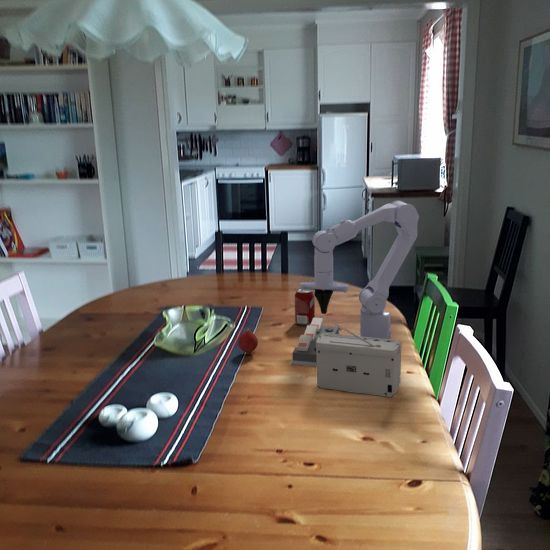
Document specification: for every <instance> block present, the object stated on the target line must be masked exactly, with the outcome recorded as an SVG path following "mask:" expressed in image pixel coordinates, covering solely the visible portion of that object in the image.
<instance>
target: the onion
mask: <svg viewBox="0 0 550 550" xmlns="http://www.w3.org/2000/svg"><path fill="white" fill-rule="evenodd" d="M237 344H238V348H239V349H240V350H241V351H242V352H244V353H245V354H247V355H251V354H252V353H253V352H254V351H255V350H256V349H257V348H258V347H257V346H258V345H259V340H258V338H257V336H256V335H255V334H254V333H253V332H252V331H251V330H250V328H247V329H246V330H245V331H243V332H242V333H241V335H240V336H239V338H238V341H237Z"/></svg>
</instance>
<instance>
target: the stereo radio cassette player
mask: <svg viewBox="0 0 550 550" xmlns="http://www.w3.org/2000/svg"><path fill="white" fill-rule="evenodd" d="M320 318H323V319H326V320H327V321H328V322H331V323H332V324H334V325H335V326H336V327H339V329H342V330H344V331H345V332H347V333H348V334H350V335H348V334H341V333H340V334H330V333H322V334H321V335H320V336H319V337H318V339H317V341H316V356H317V367H316V384H317V385H318V386H319V387H318V388H320V389H329V390H336V391H341V392H342V391H344V392H348V393H349V392H352V393H358V394H366V395H372V396H373V395H374V396H381V397H387V398H392V397H393V396H394V395H395V394H396V393H397V391H398V389H399V387H400V384H401V372H402V371H401V370H402V341H401V340H399V339H390V338H389V339H381V338H371V337H361V336H359V335H358V334H355V333H354V332H352V331H350V330H348V329H347V328H345V327H343V326H342V325H340V324H338V323H336V322H334V321H332V320H330V319H329V318H326V317H325V316H324V314H321V315H320Z"/></svg>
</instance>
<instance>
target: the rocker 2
mask: <svg viewBox="0 0 550 550" xmlns="http://www.w3.org/2000/svg"><path fill="white" fill-rule="evenodd" d="M323 323H324V317H315V318H313V320H312V322H311V325H310V326H318V330H317V332H320V329H321V326H322V325H323Z"/></svg>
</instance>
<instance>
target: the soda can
mask: <svg viewBox="0 0 550 550" xmlns="http://www.w3.org/2000/svg"><path fill="white" fill-rule="evenodd" d="M313 291H314V290H300V287H299V288H296V292H295V293H294V321H295V324H297V325H298V326H305V327H307V325H311V322H312V320H313V318H316V311H315V309H316V305H315V301H316V300H315V298H316V297H315V295H314V293H315V292H313Z"/></svg>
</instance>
